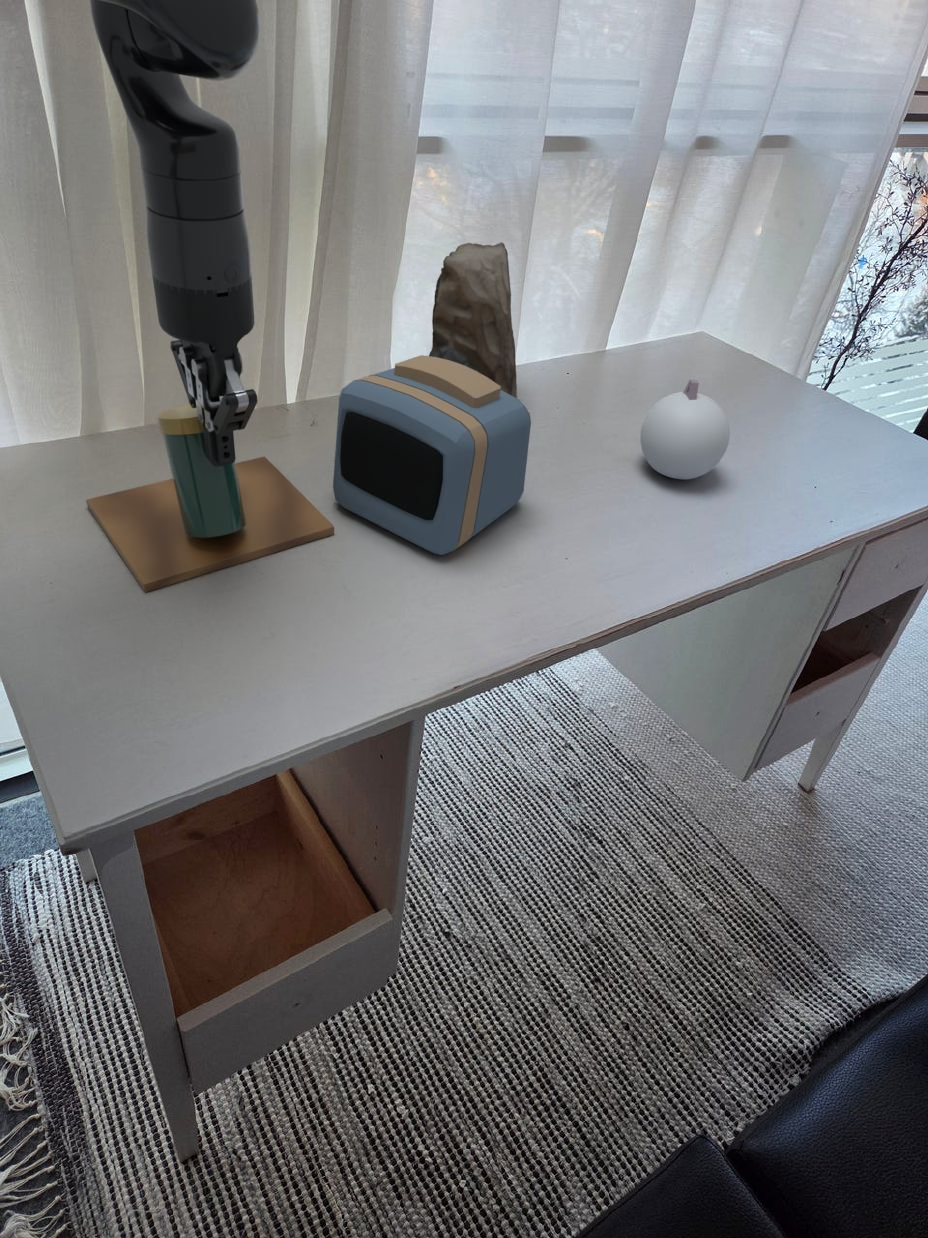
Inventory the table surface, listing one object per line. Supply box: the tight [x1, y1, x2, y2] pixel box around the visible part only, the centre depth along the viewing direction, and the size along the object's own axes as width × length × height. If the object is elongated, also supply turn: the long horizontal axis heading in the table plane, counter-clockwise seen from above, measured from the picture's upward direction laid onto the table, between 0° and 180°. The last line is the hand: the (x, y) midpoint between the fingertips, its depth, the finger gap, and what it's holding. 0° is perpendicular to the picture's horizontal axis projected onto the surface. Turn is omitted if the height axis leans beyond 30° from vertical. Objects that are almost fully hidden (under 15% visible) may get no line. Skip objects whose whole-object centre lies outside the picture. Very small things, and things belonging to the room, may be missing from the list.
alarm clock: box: [332, 354, 532, 556], centre depth 89 cm, size 16×16×16 cm
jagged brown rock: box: [428, 241, 518, 399], centre depth 107 cm, size 13×13×20 cm
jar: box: [156, 405, 247, 538], centre depth 81 cm, size 6×6×12 cm
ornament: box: [639, 379, 731, 480], centre depth 102 cm, size 10×10×12 cm
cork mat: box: [85, 456, 335, 593], centre depth 87 cm, size 20×16×1 cm
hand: (221, 461), depth 77 cm, fingers closed
